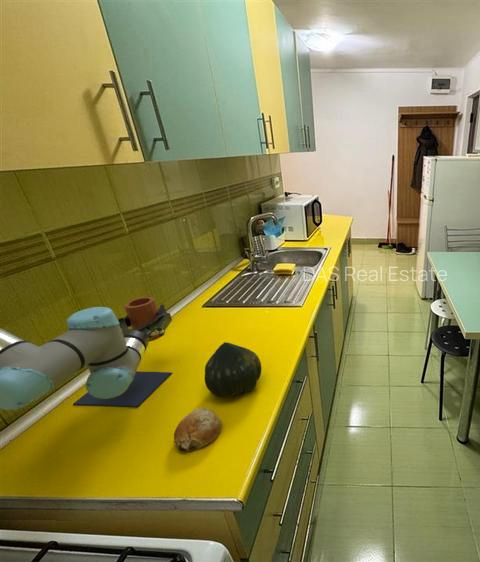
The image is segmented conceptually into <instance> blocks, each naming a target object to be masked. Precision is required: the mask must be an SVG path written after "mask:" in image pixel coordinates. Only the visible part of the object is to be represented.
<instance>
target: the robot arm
mask: <svg viewBox="0 0 480 562" xmlns="http://www.w3.org/2000/svg"><path fill="white" fill-rule="evenodd" d="M171 315H172V314H171V313H170V312H167V310H166V307H165V304H160V306H159V307H158V312H157V316H156V317H155V318H154V319H152V320H151V321H150V322H149V323H147V324H143V325H142V326H141V327H139V328H137V329H132V328H131V329H129V328H130V327H132V326H131V323H130V321H129V318H128V315H127V314H126V316H124V317H120V318H117V316H116V314H115V312H114V311H113V310H112V309H111V308H110V307H107V306H106V307H105V306H94V307H88V308H85V309H81V310H79V311H76V312H74V313H72V314H70V316H69V317H68V318H67V319H66V324H67V329H68V330H67V331H66V332H64V333H62V334H60V335H58V336H57V337H55V338H53V339H51V340H49V341H47V342H46V343H44V344H42V345H40V346H39V345H36V344H34V343H32V342H30V341H28V340H26V339H23V338H22V337H20V336H18V335H16V334H13V333H12V332H9V331H7V330H5V329H4V328H1V327H0V409H1V410H4V411H5V410H6V411H16V410H20V409H23V408H25V407H27V406H28V405H30V404H32V403H33V402H35V401H37V400H39V399H40V398H42V397H43V396H46V395H47V394H49V393H50V392H51V391H52V390H53V389H55V388H56V387H57V386H59V385H61V384H62V383H63V382H64V381H66V380H67V379H69V378H70V377H72V376H73V375H74V374H76V373H77V372H79V371H81V370H82V369H83V368H85V367H87V369H88V371H89V375H88V376H87V378H86V382H85V390H86V393H87V392H88V393H89V394H90V395H92V396H94V397H96V398H101V399H108V398H114V397H117V396H119V395H121V394H122V393H124V392H125V391H126V390H127V388H128V387H129V385H130V383H131V382H132V381H133V379H134V376H135V373H136V371H138V368H139V366H140V363H141V361H142V359H143V357H144V355H145V353H146V350H147V349H148V346H149V343H150V342H149V340H150V339H151V338H152V337H153V336H154V335H159V336H162V337H163V336H165V334H164V331H165V332H166V330H167V329H168V327H169V326H170V324H171V323H172V321H173V318H172V316H171Z"/></svg>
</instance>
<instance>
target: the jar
mask: <svg viewBox="0 0 480 562" xmlns="http://www.w3.org/2000/svg"><path fill="white" fill-rule="evenodd" d="M123 308H124V310H125V312H126V316H127V315H128V318H129V321H130V323H131V326H130V327H131V329H137V328H139V327H141V326H142V325H143V324H147V323H149V322H150V321H151V320H152V319H154V318H155V317H156V316H157V312H158V310H159V307H158V305H157V301H156V300H155V298H154V297H153V296H142V297H137V298H133V299H131V300H129V301H127V302H125V303H124V305H123ZM165 333H166V330H165V331H164V335H165ZM162 337H163V336H159V335H154V336H153V337H152V338H151V339H150V340H149V343H150V342H154V341H156V340H158V339H160V338H162Z"/></svg>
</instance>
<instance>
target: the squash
mask: <svg viewBox="0 0 480 562" xmlns="http://www.w3.org/2000/svg"><path fill="white" fill-rule="evenodd" d="M262 369H263V368H262V362H261V360H260V358H259V356H258V355H257V354H256V352H254V351H252V350H251V349H249V348H246V347H243V346H240V345H237V344H234V343H232V342H226V341H224V342H223V343H222V344H220V345H219V346H218V348H217V349H215V351H214V353H212V355H211V356H210V357H209V359H208V360H207V361H206V364H205V365H204V383H205V386H206V388H207V390H208V391H209V392H210V393H211V394H212V395H214V396H216V397H218V398H219V397H220V398H221V397H225V398H231V397H232V396H234V394H235V395H240V394H241V393H242V392H246V393H247V392H251V391H253V390H254V389H255V388H256V385H257V382H258V381H259V379H260V378H261V375H262Z"/></svg>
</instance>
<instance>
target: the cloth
mask: <svg viewBox="0 0 480 562" xmlns="http://www.w3.org/2000/svg"><path fill="white" fill-rule="evenodd" d="M172 375H173V371H138V370H137V371H136V373H135V376H134V379H133V381H132V382H131V383H130V385H129V387H128V388H127V390H126V391H125V392H124V393H122V394H121V395H119V396H117V397H114V398H108V399H101V398H96V397H94V396H92V395H90V394H89V393H88V392H87V391H86V393H85V394H83V395H82V396H81V397H79V398H78V399H77V400H76V401H74V402H73V403H72V405H73V406H86V407H87V406H88V407H116V408H118V407H119V408H139V407H140V406H141V405H142V404H143V403H144V402H145V401H146V400H147V399H148V398H150V396H151V395H152V394H153V393H154V392H156V390H157V389H158V388H159V387H160V386H161V385H162V384H163V383H164V382H165V381H167V379H169V377H171V376H172Z"/></svg>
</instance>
